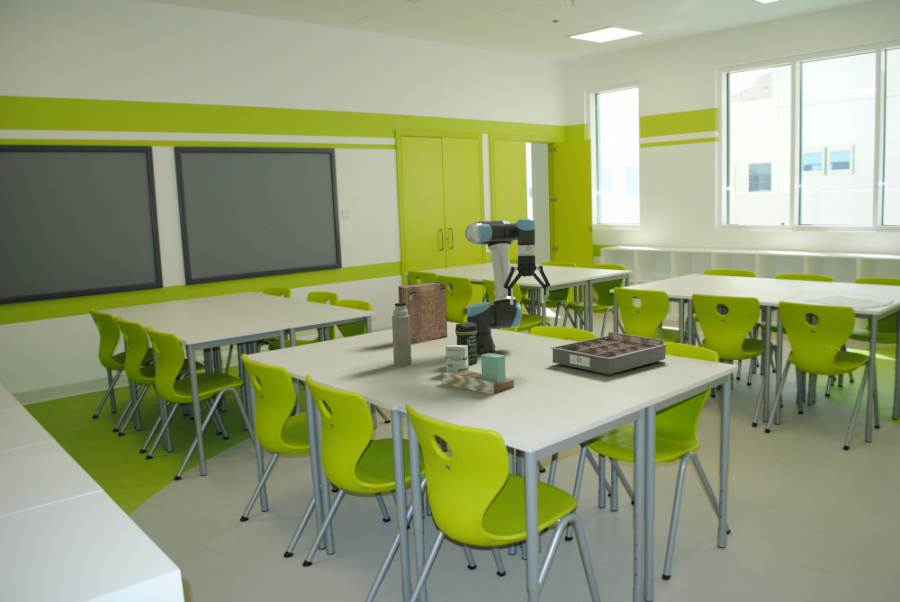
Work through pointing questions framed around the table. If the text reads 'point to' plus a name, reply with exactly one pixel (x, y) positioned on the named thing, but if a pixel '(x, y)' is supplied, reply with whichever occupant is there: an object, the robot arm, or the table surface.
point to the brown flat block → (475, 382)
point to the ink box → (456, 358)
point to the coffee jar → (468, 339)
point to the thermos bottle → (401, 335)
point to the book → (425, 310)
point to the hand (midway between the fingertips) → (527, 303)
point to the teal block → (493, 367)
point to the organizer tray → (610, 353)
